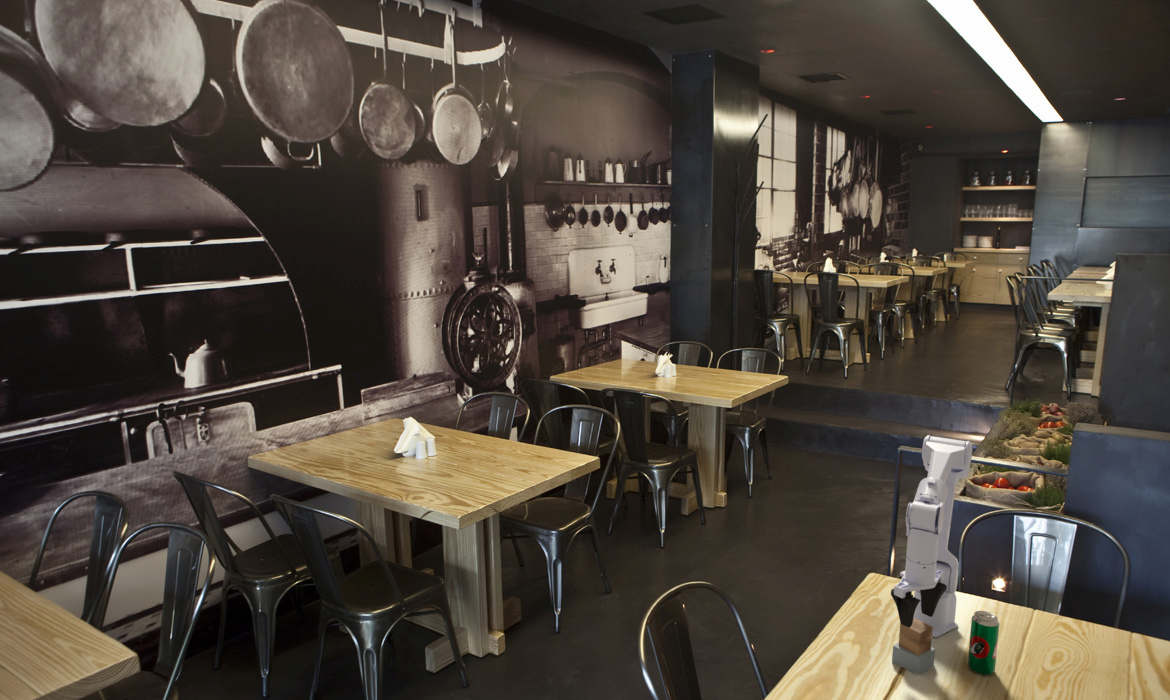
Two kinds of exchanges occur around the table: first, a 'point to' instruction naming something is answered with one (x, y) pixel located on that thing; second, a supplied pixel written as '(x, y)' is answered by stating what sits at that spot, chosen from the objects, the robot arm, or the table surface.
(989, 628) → the soda can
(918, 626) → the walnut block
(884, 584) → the table surface
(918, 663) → the slate block
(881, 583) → the table surface
